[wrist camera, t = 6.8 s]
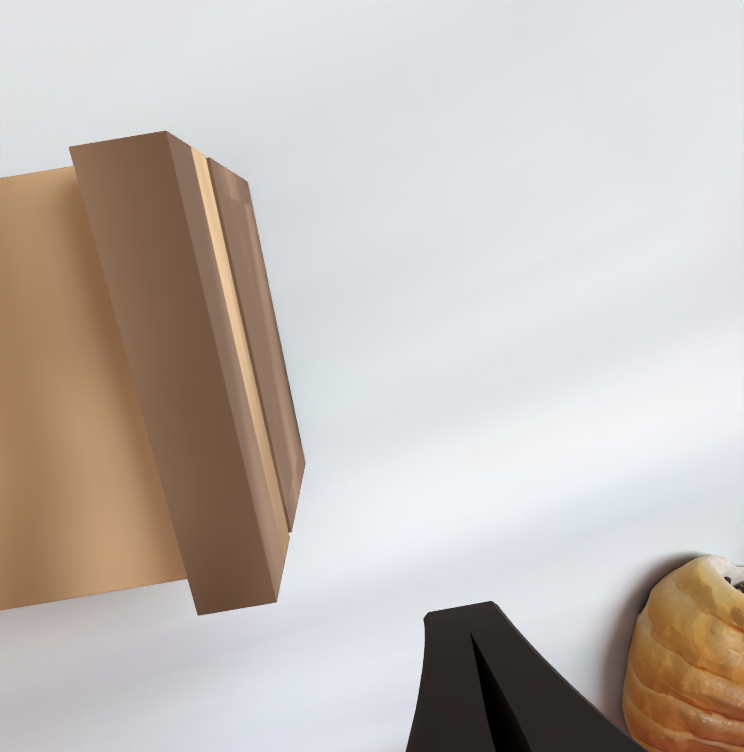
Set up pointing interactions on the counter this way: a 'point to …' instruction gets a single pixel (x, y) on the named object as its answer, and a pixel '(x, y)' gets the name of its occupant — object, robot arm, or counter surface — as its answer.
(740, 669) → the pastry
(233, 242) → the keepsake box
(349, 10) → the counter surface
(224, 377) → the lid
